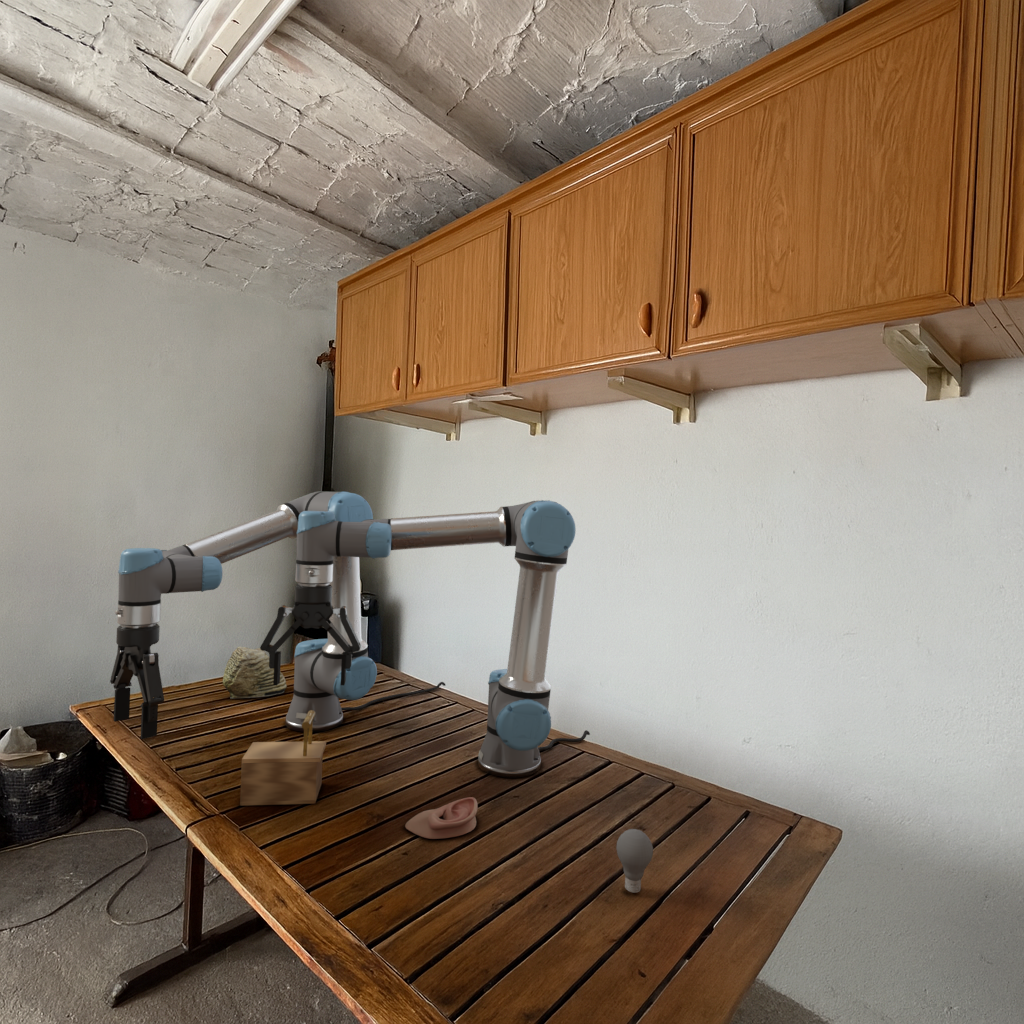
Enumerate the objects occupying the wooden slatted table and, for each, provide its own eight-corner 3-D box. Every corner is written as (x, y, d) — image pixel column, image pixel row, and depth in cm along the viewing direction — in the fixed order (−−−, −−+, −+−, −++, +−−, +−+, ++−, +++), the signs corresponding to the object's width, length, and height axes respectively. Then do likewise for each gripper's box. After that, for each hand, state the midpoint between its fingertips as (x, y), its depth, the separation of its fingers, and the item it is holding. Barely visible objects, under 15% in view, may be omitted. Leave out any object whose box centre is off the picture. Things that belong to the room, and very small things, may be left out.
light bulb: (610, 879, 108) (613, 822, 108) (644, 879, 109) (647, 822, 109) (619, 902, 102) (622, 840, 102) (655, 901, 103) (658, 840, 103)
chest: (321, 784, 140) (323, 745, 139) (315, 803, 131) (316, 762, 131) (251, 785, 137) (252, 746, 137) (239, 805, 128) (241, 763, 128)
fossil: (218, 695, 195) (220, 647, 195) (278, 685, 208) (279, 640, 207) (228, 703, 189) (230, 653, 188) (289, 692, 201) (290, 645, 201)
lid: (326, 745, 140) (327, 708, 139) (320, 761, 131) (321, 723, 131) (252, 746, 137) (254, 709, 137) (241, 763, 128) (243, 723, 128)
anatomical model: (399, 813, 120) (420, 787, 131) (398, 834, 120) (419, 806, 131) (467, 823, 117) (482, 796, 128) (466, 845, 117) (481, 815, 128)
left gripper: (95, 617, 134) (91, 717, 134) (144, 637, 118) (140, 750, 118) (133, 613, 140) (130, 709, 140) (185, 632, 124) (181, 739, 124)
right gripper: (247, 584, 128) (243, 689, 129) (373, 587, 132) (368, 688, 132) (256, 580, 136) (252, 678, 136) (375, 582, 139) (371, 678, 140)
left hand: (134, 728), depth 129 cm, fingers open, 13 cm apart
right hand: (310, 683), depth 134 cm, fingers open, 13 cm apart
